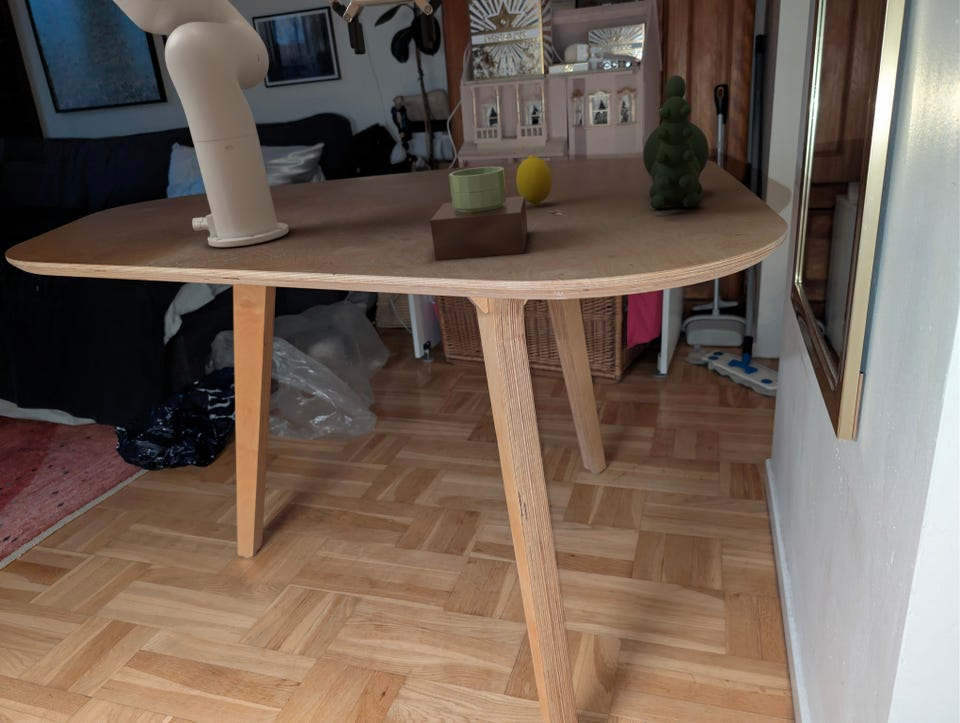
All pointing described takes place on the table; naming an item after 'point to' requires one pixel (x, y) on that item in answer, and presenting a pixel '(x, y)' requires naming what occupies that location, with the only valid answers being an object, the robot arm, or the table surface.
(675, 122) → the toy figurine
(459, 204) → the bowl
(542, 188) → the lemon
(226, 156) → the robot arm
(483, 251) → the stand
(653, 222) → the table surface
